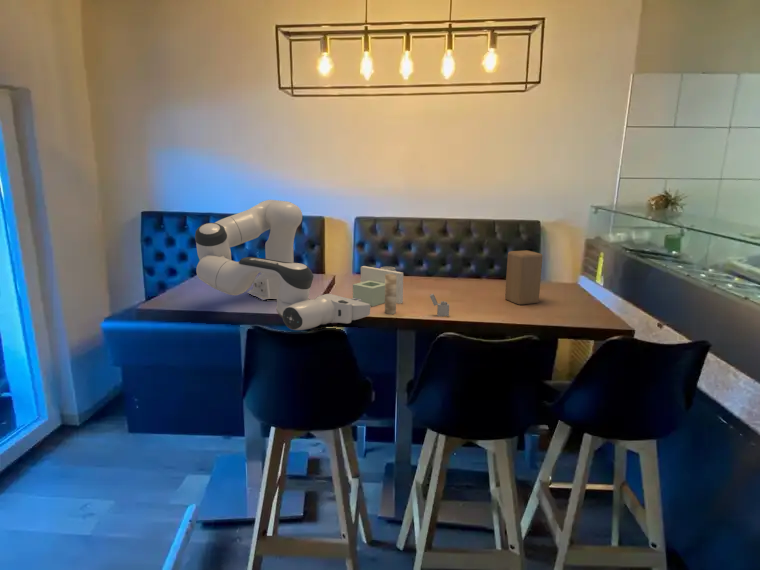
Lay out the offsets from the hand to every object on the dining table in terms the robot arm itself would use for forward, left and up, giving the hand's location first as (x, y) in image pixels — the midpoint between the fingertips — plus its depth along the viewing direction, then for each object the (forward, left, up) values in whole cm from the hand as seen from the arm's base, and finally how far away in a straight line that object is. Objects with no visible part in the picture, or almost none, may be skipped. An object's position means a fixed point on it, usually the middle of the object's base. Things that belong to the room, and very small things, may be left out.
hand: (358, 300), depth 174 cm
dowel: (+3, +14, -8) cm, 16 cm away
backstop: (-12, +17, -8) cm, 22 cm away
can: (-16, +36, -8) cm, 40 cm away
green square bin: (-12, +21, -6) cm, 25 cm away
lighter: (+16, +26, -8) cm, 31 cm away
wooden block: (+30, +65, -8) cm, 72 cm away
